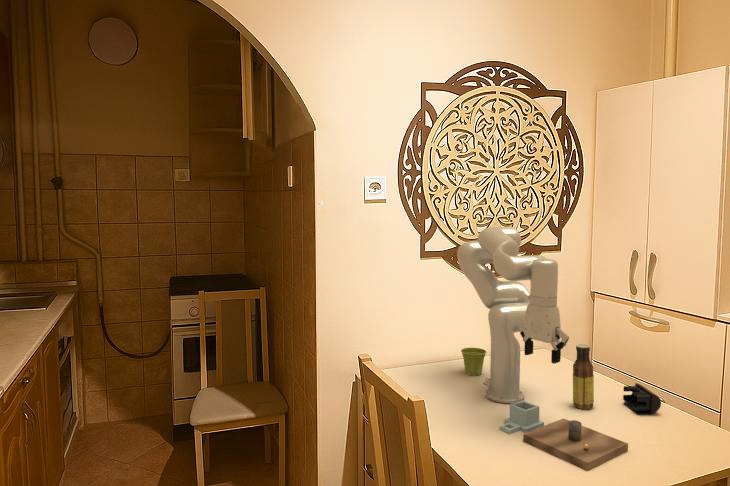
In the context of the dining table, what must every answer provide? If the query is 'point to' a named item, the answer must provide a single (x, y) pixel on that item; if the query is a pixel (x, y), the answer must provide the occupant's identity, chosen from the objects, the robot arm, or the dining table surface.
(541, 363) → the dining table surface
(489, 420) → the dining table surface
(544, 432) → the post board
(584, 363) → the sauce bottle
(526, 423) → the grey bracket housing
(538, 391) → the dining table surface
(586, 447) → the brass dowel
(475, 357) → the plant pot
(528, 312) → the robot arm
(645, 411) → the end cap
